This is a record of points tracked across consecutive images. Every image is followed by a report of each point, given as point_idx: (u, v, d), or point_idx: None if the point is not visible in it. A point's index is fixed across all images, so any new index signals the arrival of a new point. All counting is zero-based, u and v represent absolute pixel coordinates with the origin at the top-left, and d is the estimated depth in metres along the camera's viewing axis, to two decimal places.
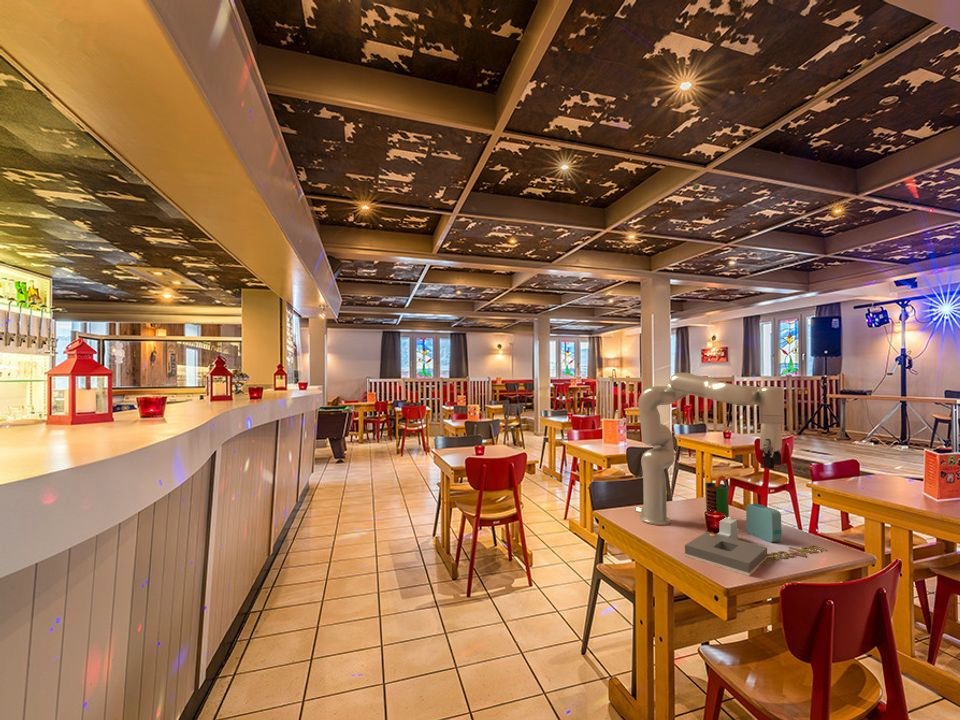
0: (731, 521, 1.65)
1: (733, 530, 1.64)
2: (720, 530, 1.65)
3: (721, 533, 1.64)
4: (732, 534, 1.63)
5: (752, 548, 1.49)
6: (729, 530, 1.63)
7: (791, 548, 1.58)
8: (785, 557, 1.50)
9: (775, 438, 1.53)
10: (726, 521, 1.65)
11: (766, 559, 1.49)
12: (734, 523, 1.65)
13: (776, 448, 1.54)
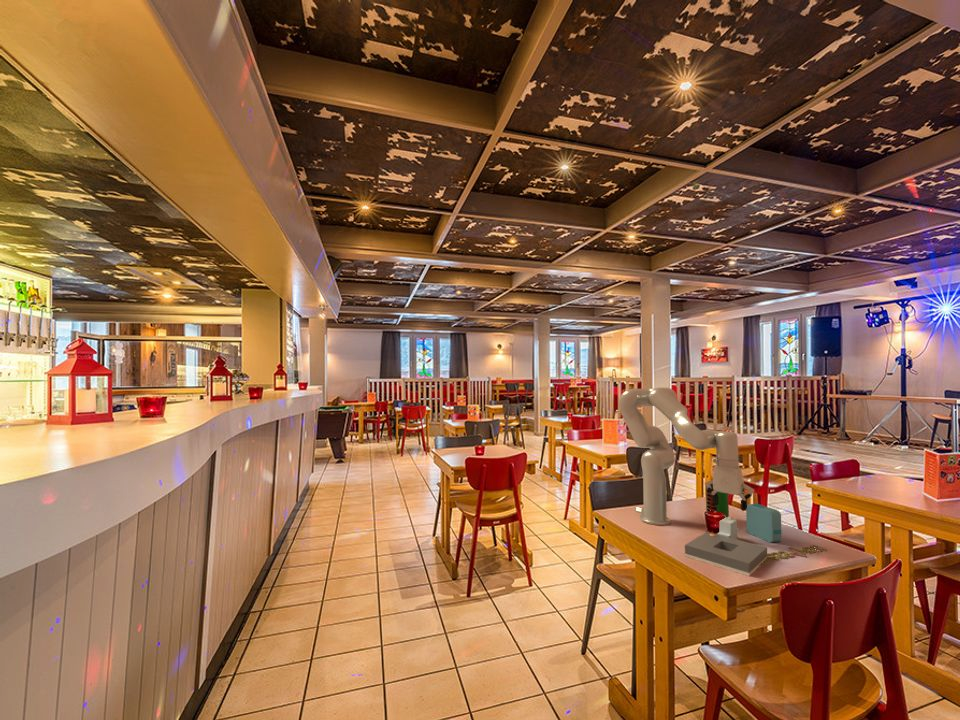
0: (731, 521, 1.65)
1: (733, 530, 1.64)
2: (720, 530, 1.65)
3: (721, 533, 1.64)
4: (732, 534, 1.63)
5: (752, 548, 1.49)
6: (729, 530, 1.63)
7: (791, 548, 1.58)
8: (785, 557, 1.50)
9: None
10: (726, 521, 1.65)
11: (766, 559, 1.49)
12: (734, 523, 1.65)
13: None
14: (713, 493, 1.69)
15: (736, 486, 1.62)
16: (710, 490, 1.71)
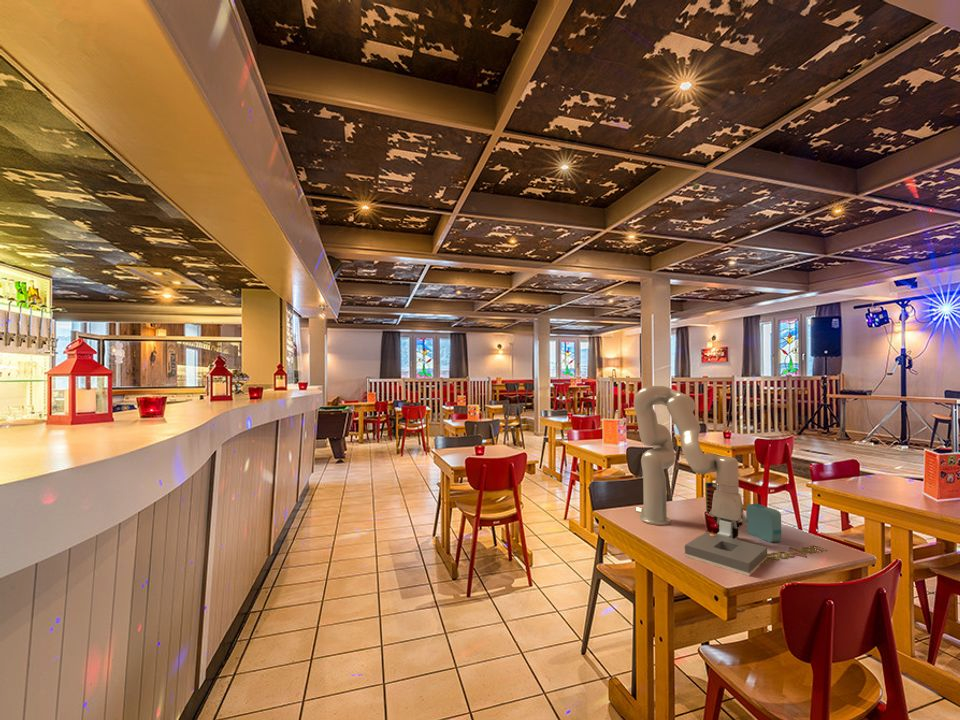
0: (731, 521, 1.65)
1: None
2: (720, 530, 1.65)
3: (721, 533, 1.64)
4: None
5: (752, 548, 1.49)
6: (729, 530, 1.63)
7: (791, 548, 1.58)
8: (785, 557, 1.50)
9: None
10: (726, 521, 1.65)
11: (766, 559, 1.49)
12: None
13: None
14: (718, 522, 1.68)
15: (735, 512, 1.62)
16: (716, 518, 1.69)
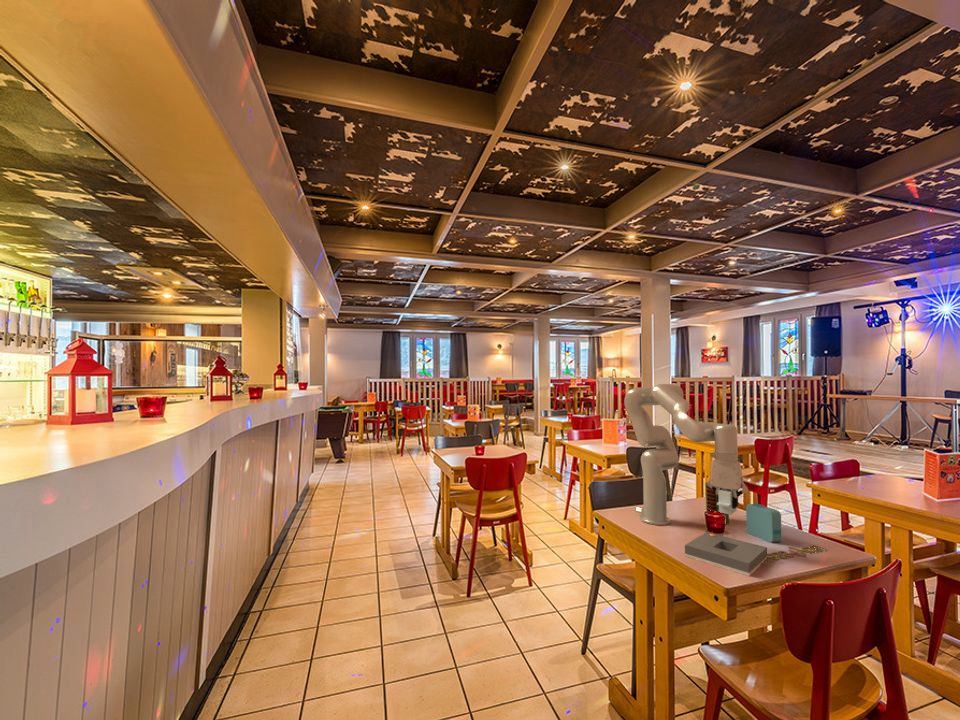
0: (730, 490, 1.58)
1: None
2: (719, 500, 1.58)
3: (720, 503, 1.57)
4: None
5: (752, 548, 1.49)
6: (729, 499, 1.56)
7: (791, 548, 1.58)
8: (785, 557, 1.50)
9: None
10: (725, 490, 1.58)
11: (766, 559, 1.49)
12: None
13: None
14: (717, 492, 1.61)
15: (735, 481, 1.55)
16: (715, 488, 1.62)
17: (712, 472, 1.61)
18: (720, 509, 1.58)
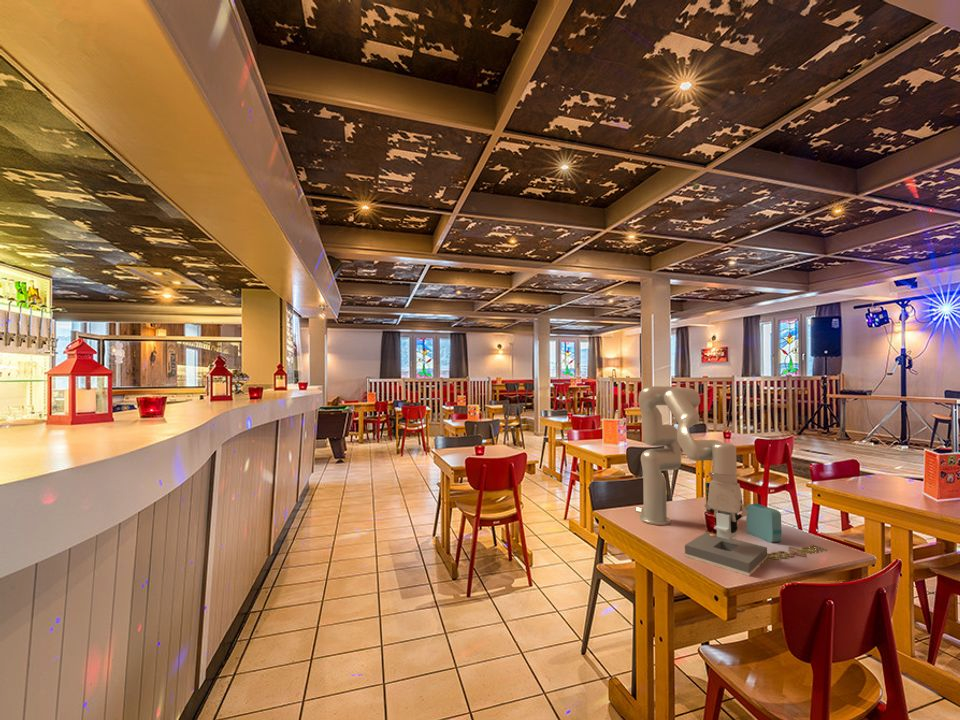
0: (729, 513, 1.49)
1: None
2: (717, 523, 1.49)
3: (718, 527, 1.48)
4: (730, 528, 1.48)
5: (752, 548, 1.49)
6: (727, 523, 1.47)
7: (791, 548, 1.58)
8: (785, 557, 1.50)
9: None
10: (724, 513, 1.49)
11: (766, 559, 1.49)
12: None
13: None
14: (715, 515, 1.52)
15: (734, 504, 1.46)
16: (713, 511, 1.53)
17: (710, 493, 1.52)
18: (718, 533, 1.49)
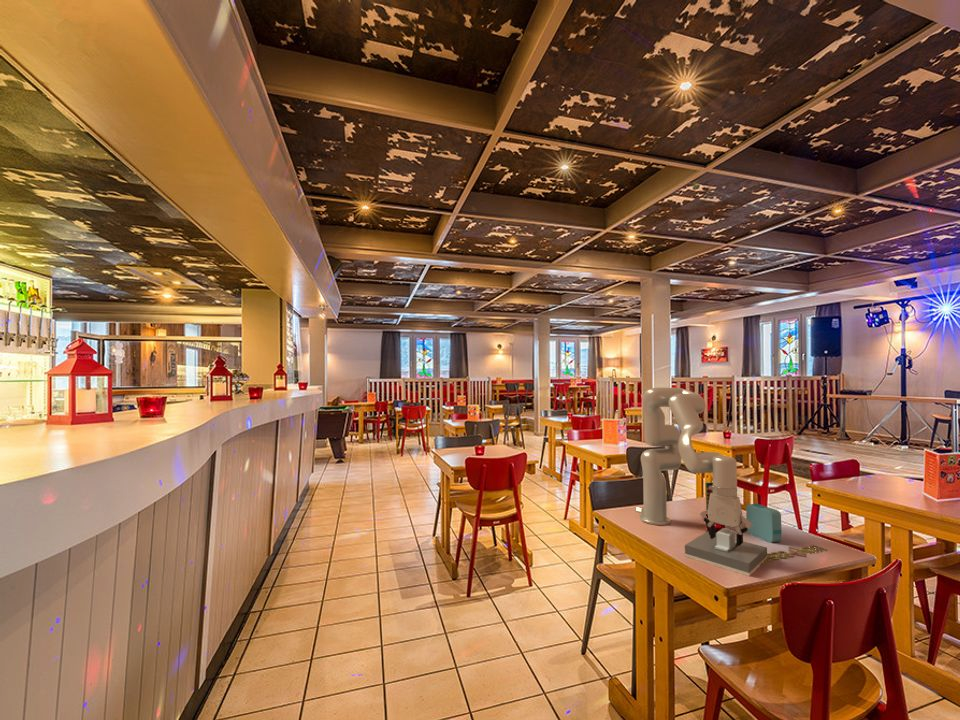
0: (729, 533, 1.49)
1: (731, 543, 1.49)
2: (717, 543, 1.49)
3: (719, 546, 1.48)
4: (731, 547, 1.48)
5: (752, 548, 1.49)
6: (727, 543, 1.47)
7: (791, 548, 1.58)
8: (785, 557, 1.50)
9: None
10: (724, 533, 1.49)
11: (766, 559, 1.49)
12: (733, 534, 1.50)
13: None
14: (709, 525, 1.53)
15: (733, 518, 1.46)
16: (706, 521, 1.55)
17: (710, 506, 1.52)
18: None
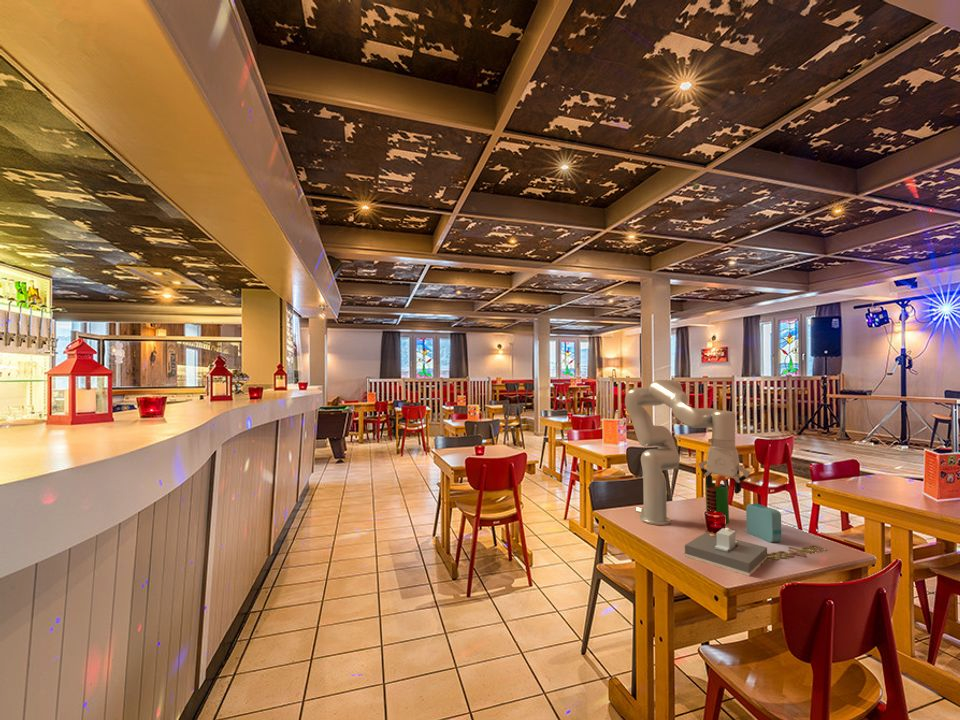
0: (729, 533, 1.49)
1: (731, 543, 1.49)
2: (717, 543, 1.49)
3: (719, 546, 1.48)
4: (731, 547, 1.48)
5: (752, 548, 1.49)
6: (727, 543, 1.47)
7: (791, 548, 1.58)
8: (785, 557, 1.50)
9: None
10: (724, 533, 1.49)
11: (766, 559, 1.49)
12: (733, 534, 1.50)
13: None
14: (706, 474, 1.62)
15: (731, 468, 1.54)
16: (703, 471, 1.63)
17: (708, 458, 1.60)
18: None
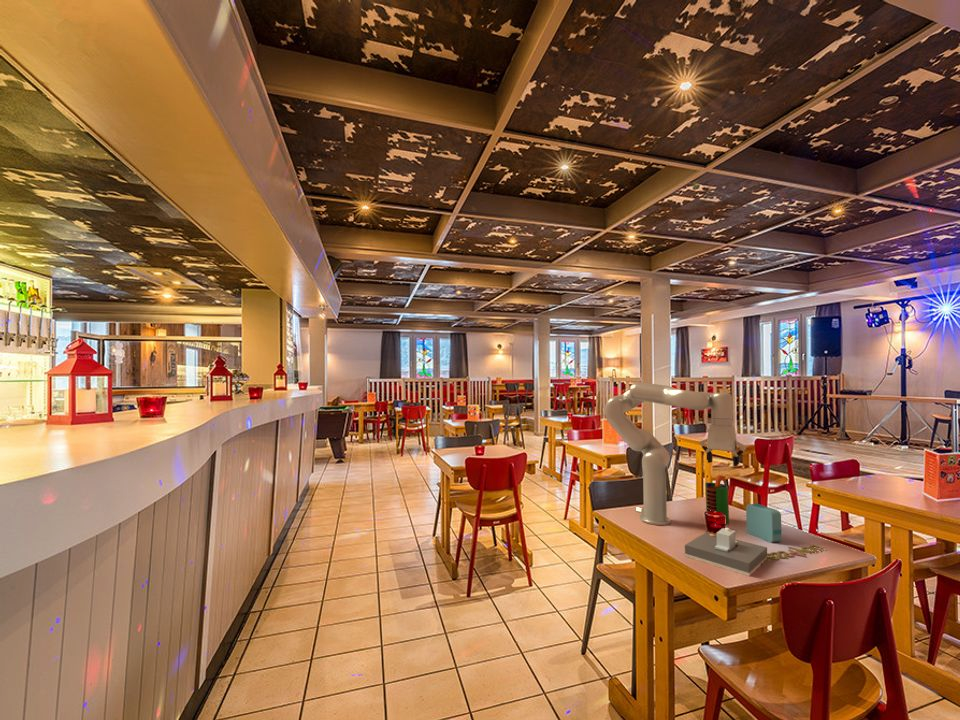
0: (729, 533, 1.49)
1: (731, 543, 1.49)
2: (717, 543, 1.49)
3: (719, 546, 1.48)
4: (731, 547, 1.48)
5: (752, 548, 1.49)
6: (727, 543, 1.47)
7: (791, 548, 1.58)
8: (784, 557, 1.50)
9: None
10: (724, 533, 1.49)
11: None
12: (733, 534, 1.50)
13: None
14: (707, 451, 1.78)
15: (729, 443, 1.71)
16: (704, 448, 1.79)
17: (709, 436, 1.77)
18: None
